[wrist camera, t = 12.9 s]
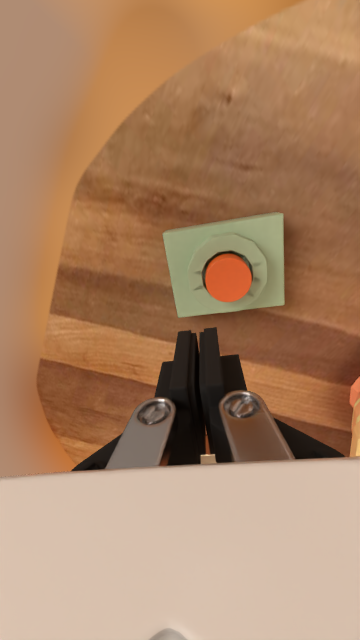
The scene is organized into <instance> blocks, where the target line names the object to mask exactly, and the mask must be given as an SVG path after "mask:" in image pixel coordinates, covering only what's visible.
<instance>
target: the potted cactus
mask: <svg viewBox="0 0 360 640" xmlns="http://www.w3.org/2000/svg"><path fill="white" fill-rule="evenodd" d="M349 403H350V404H351V406H352V407H353V409H354V410H353V419H352V427H351V429H352V442H351V450H350V457H356V456H359V457H360V376H359V378H358V379H357V380H356V381H355V382H354V384H353V385H352V386H351V392H350V401H349Z"/></svg>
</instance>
